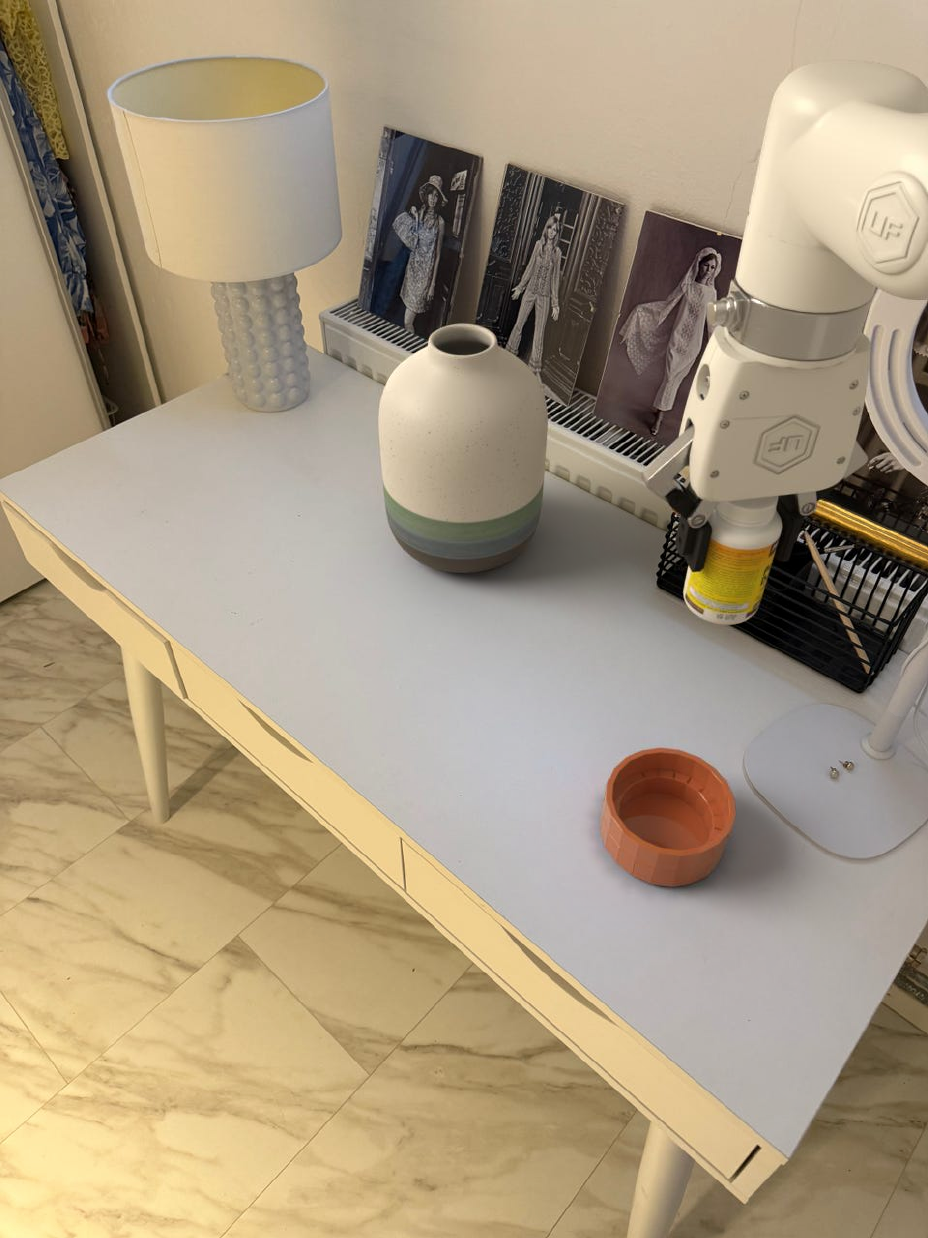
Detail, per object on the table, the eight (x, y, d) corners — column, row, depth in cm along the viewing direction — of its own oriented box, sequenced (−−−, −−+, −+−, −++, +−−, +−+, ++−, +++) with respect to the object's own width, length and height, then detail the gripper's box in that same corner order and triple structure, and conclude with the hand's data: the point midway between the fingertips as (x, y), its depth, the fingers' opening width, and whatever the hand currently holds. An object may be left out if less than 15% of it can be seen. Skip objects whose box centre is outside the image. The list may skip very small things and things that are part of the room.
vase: (551, 584, 98) (568, 381, 81) (390, 595, 97) (374, 392, 80) (527, 487, 110) (538, 293, 93) (384, 496, 109) (369, 301, 92)
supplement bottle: (760, 632, 67) (795, 521, 60) (682, 624, 68) (707, 513, 60) (754, 580, 71) (787, 470, 64) (680, 573, 72) (704, 463, 64)
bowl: (741, 879, 74) (755, 845, 70) (619, 897, 73) (626, 864, 69) (698, 776, 81) (709, 740, 77) (586, 791, 80) (592, 756, 76)
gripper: (672, 360, 50) (631, 604, 62) (969, 332, 52) (870, 575, 64) (631, 296, 55) (600, 534, 68) (902, 273, 57) (823, 508, 70)
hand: (732, 552), depth 66 cm, fingers closed on supplement bottle, 5 cm apart
